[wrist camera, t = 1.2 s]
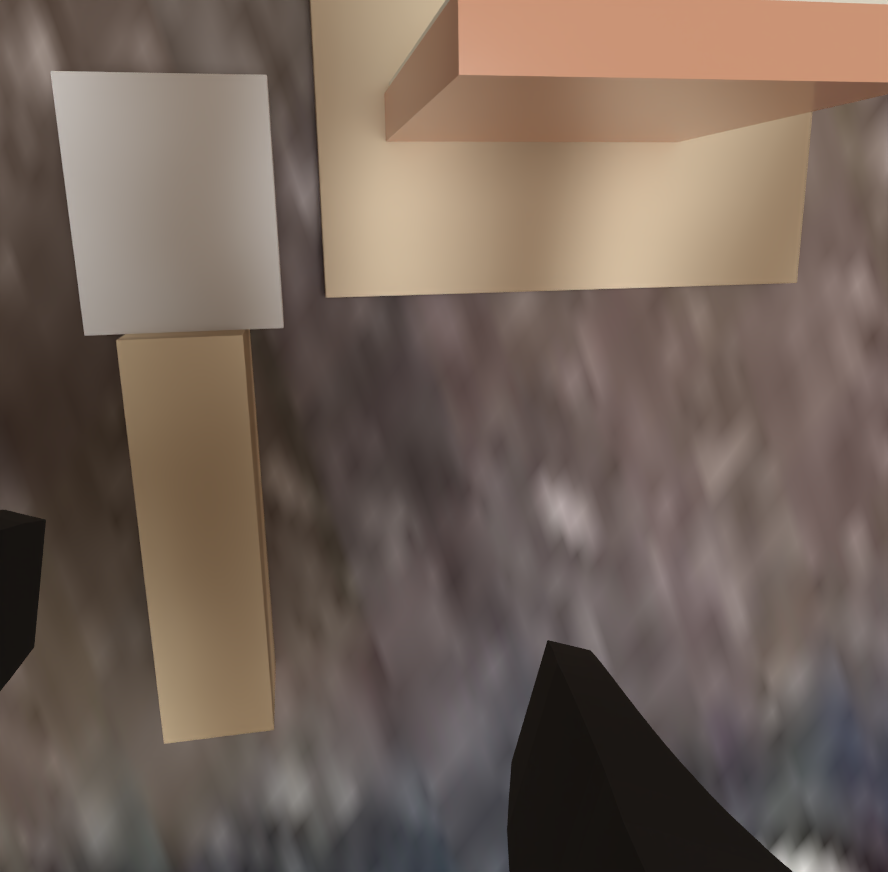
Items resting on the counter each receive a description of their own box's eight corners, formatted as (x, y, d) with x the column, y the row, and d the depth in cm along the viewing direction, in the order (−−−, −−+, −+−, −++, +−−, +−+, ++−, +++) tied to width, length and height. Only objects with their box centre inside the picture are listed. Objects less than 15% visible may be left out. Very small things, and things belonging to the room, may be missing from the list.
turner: (148, 676, 21) (126, 748, 18) (76, 89, 17) (34, 60, 14) (306, 659, 21) (309, 725, 18) (268, 91, 18) (265, 65, 15)
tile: (385, 141, 18) (458, 74, 10) (383, 83, 18) (457, -30, 10) (677, 142, 19) (935, 82, 12) (680, 88, 19) (947, -10, 11)
